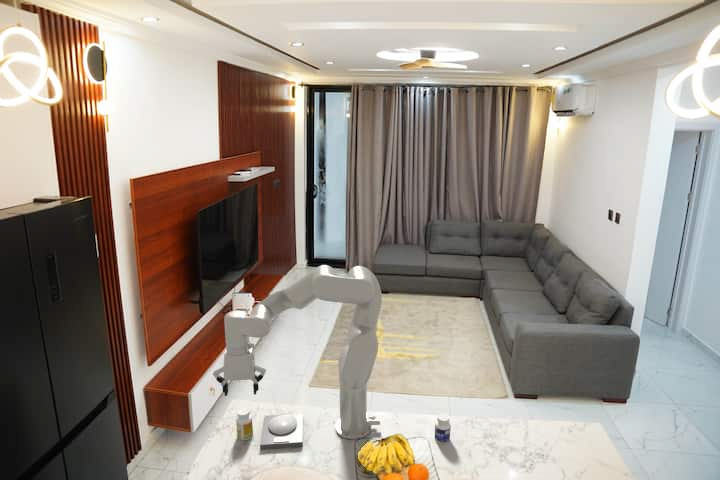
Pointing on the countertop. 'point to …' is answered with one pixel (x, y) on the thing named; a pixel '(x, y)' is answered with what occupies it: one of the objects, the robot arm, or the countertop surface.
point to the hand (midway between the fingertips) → (241, 393)
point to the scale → (282, 431)
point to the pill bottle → (442, 429)
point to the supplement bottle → (244, 424)
